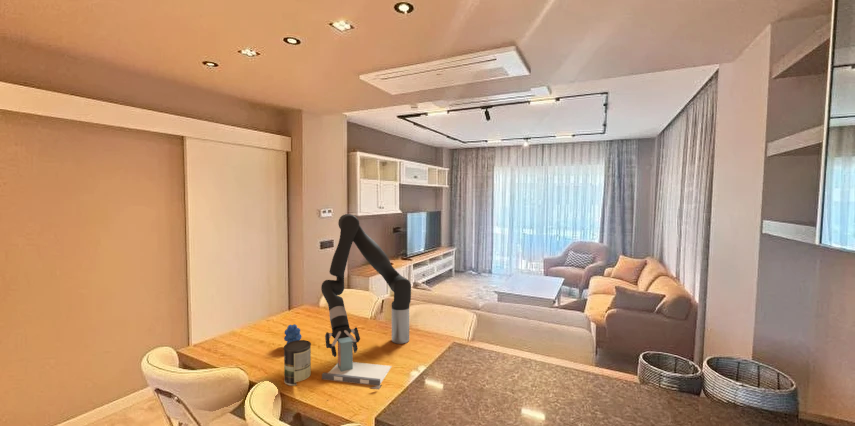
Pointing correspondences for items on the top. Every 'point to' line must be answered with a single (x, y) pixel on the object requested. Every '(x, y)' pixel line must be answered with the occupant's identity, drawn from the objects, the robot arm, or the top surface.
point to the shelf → (359, 374)
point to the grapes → (292, 333)
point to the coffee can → (297, 361)
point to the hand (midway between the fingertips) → (345, 354)
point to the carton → (345, 354)
